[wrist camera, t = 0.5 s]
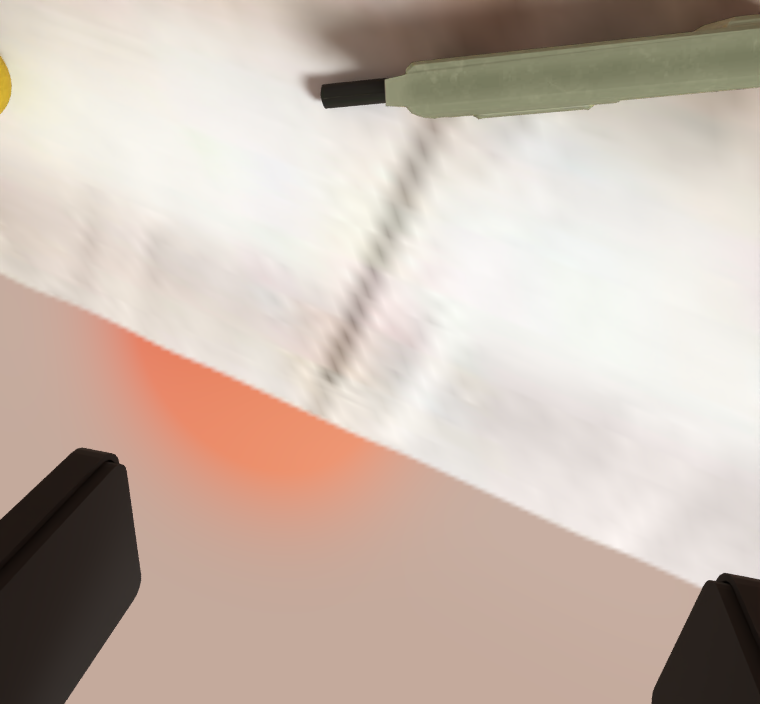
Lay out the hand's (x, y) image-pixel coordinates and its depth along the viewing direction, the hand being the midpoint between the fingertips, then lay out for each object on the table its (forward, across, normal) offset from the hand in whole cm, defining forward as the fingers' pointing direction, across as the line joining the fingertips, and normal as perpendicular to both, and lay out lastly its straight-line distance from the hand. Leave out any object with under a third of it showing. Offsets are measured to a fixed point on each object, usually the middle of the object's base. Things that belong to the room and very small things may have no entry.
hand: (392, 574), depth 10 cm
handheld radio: (+31, -3, -7) cm, 32 cm away
